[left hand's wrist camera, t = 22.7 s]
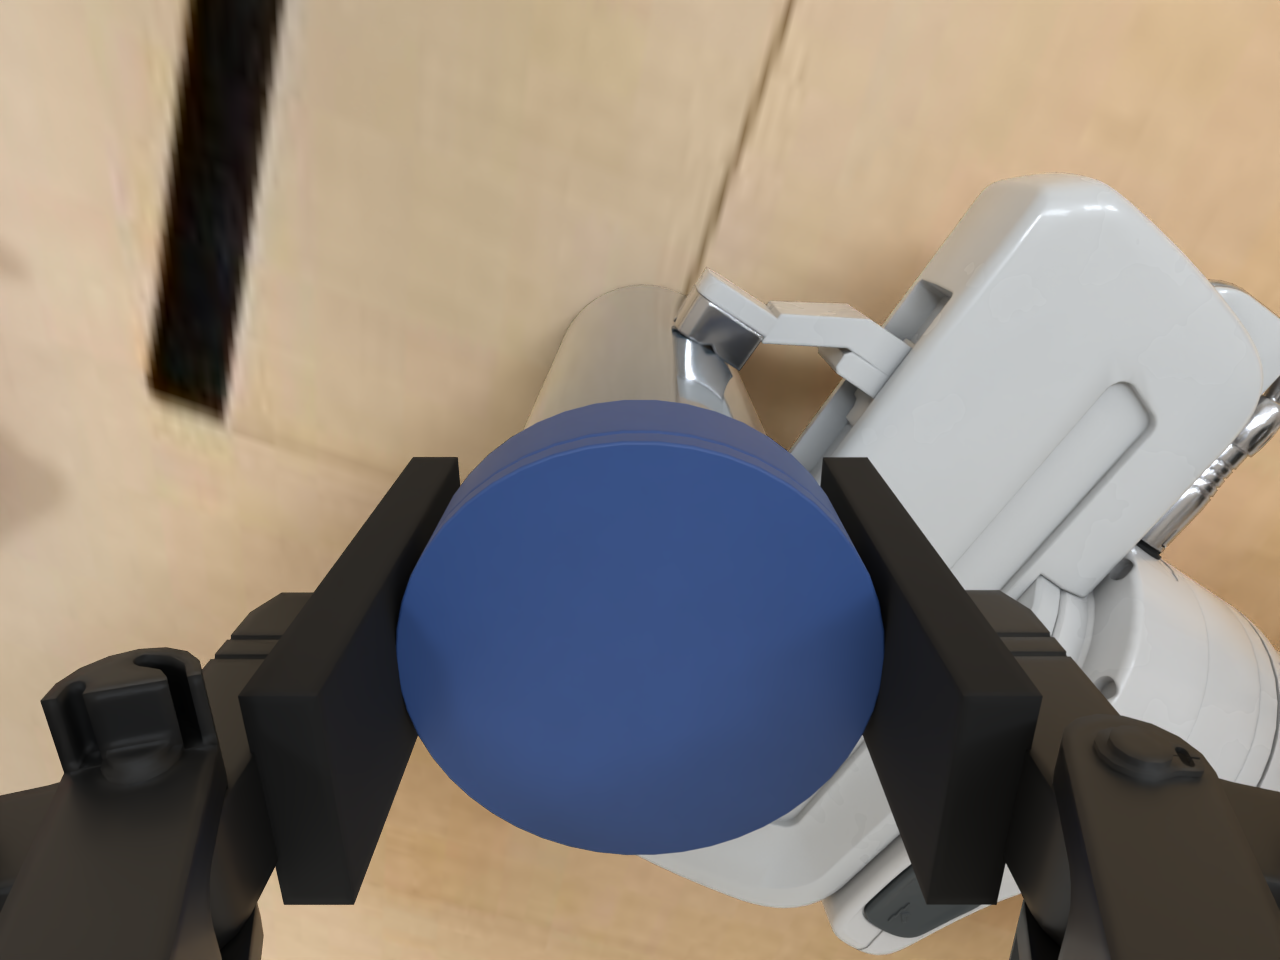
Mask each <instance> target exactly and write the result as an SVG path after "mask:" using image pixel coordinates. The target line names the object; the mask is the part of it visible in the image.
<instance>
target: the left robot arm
mask: <svg viewBox="0 0 1280 960" xmlns="http://www.w3.org/2000/svg"><path fill="white" fill-rule="evenodd" d="M459 487H460V478H459V467H458V457H413V458H412V459H411V461H410V462H409V464H408V465H407V466H406V468H405V469H404V470H403V472H402V473H401V474H400V476H399V477H398V479H397V480H396V481H395V483H394V484H393V485H392V487H391V488H390V489H389V491H388V492H387V494H386V495H385V496H384V498H383V499H382V500H381V502H380V503H379V504H378V506H377V507H376V508H375V510H374V511H373V513H372V514H371V515H370V517H369V518H368V519H367V521H366V522H365V523H364V525H363V526H362V528H361V529H360V530H359V532H358V533H357V534H356V536H355V537H354V538H353V540H352V541H351V543H350V544H349V545H348V547H347V548H346V549H345V551H344V552H343V553H342V555H341V556H340V558H339V559H338V560H337V562H336V563H335V564H334V566H333V567H332V568H331V570H330V571H329V573H328V574H327V575H326V577H325V578H324V579H323V581H322V582H321V583H320V585H319V586H318V587H317V589H316V590H315V592H314V593H280V594H279V595H277V596H276V597H274V598H272V599H271V600H269V601H268V602H266V603H264V604H263V605H261V606H260V607H258V608H256V609H255V610H253V611H252V612H250V613H249V614H248V616H247V617H246V618H245V619H244V620H243V622H242V623H241V624H240V625H239V626H238V627H237V629H236V630H235V631H234V632H233V633H232V635H231V640H227V641H226V642H225V643H224V644H223V645H222V647H221V648H220V649H219V650H218V651H217V652H216V654H215V659H211V660H210V661H209V662H208V663H207V664H206V666H205V667H204V668H203V669H201V664H200V660H198V659H197V658H196V657H194V656H193V655H192V654H190V653H189V652H188V651H183V650H178V649H172V648H167V647H164V648H148V649H137V650H133V651H129V652H125V653H121V654H116V655H112V656H108V657H106V658H104V659H101V660H99V661H96V662H94V663H92V664H89V665H87V666H84V667H82V668H80V669H78V670H76V671H75V672H73V673H72V674H70V675H69V676H67V677H66V678H64V679H62V680H61V681H59V682H58V683H56V684H55V685H54V686H53V687H52V689H51V690H50V691H49V692H48V693H47V694H46V695H45V696H44V698H43V699H42V700H41V704H42V707H43V710H44V713H45V716H46V719H47V722H48V725H49V728H50V731H51V734H52V737H53V740H54V743H55V746H56V750H57V753H58V756H59V759H60V762H61V765H62V768H63V771H64V775H63V777H62V779H61V781H60V782H59V783H55V784H52V785H48V786H43V787H39V788H34V789H29V790H24V791H20V792H15V793H10V794H6V795H1V796H0V960H261V954H262V945H263V936H264V935H263V928H262V922H261V916H260V912H259V908H258V904H257V901H258V899H259V897H260V895H261V893H262V892H263V890H264V888H265V886H266V884H267V882H268V880H269V878H270V876H271V874H272V872H273V870H274V868H275V866H276V871H277V875H278V880H279V884H280V889H281V893H282V898H283V903H284V905H354V903H355V900H356V898H357V895H358V892H359V890H360V887H361V885H362V882H363V879H364V877H365V874H366V871H367V869H368V866H369V863H370V861H371V858H372V855H373V853H374V850H375V848H376V845H377V842H378V840H379V837H380V834H381V832H382V829H383V826H384V824H385V821H386V818H387V816H388V813H389V810H390V808H391V805H392V803H393V800H394V797H395V795H396V792H397V789H398V787H399V784H400V781H401V779H402V776H403V773H404V771H405V768H406V766H407V763H408V760H409V758H410V755H411V752H412V750H413V747H414V744H415V742H416V739H417V736H418V734H417V732H416V729H415V727H414V725H413V723H412V721H411V718H410V716H409V714H408V712H407V709H406V706H405V702H404V699H403V695H402V692H401V685H400V678H399V670H398V663H397V654H396V628H397V622H398V617H399V612H400V606H401V601H402V598H403V595H404V593H405V590H406V587H407V584H408V581H409V578H410V576H411V573H412V572H413V570H414V568H415V566H416V564H417V562H418V560H419V559H420V557H421V555H422V553H423V551H424V549H425V547H426V545H427V544H428V542H429V540H430V538H431V536H432V534H433V532H434V531H435V529H436V527H437V525H438V523H439V521H440V519H441V518H442V516H443V514H444V512H445V510H446V508H447V506H448V505H449V503H450V501H451V499H452V497H453V495H454V494H455V493H456V491H457V490H458V489H459ZM820 487H821V488H822V489H823V491H824V492H825V494H826V495H827V496H828V498H829V500H830V502H831V504H832V506H833V508H834V509H835V511H836V513H837V515H838V517H839V519H840V521H841V522H842V524H843V526H844V528H845V530H846V532H847V534H848V535H849V537H850V539H851V541H852V543H853V545H854V547H855V548H856V550H857V552H858V554H859V556H860V558H861V560H862V562H863V563H864V565H865V567H866V569H867V571H868V573H869V575H870V577H871V580H872V583H873V586H874V589H875V592H876V594H877V597H878V600H879V604H880V609H881V615H882V620H883V626H884V659H883V667H882V675H881V682H880V689H879V693H878V697H877V700H876V704H875V707H874V710H873V713H872V715H871V717H870V719H869V721H868V724H867V726H866V728H865V730H864V732H863V738H864V740H865V743H866V746H867V748H868V751H869V754H870V756H871V759H872V762H873V764H874V767H875V769H876V772H877V775H878V777H879V780H880V783H881V785H882V788H883V791H884V793H885V796H886V799H887V801H888V804H889V806H890V809H891V812H892V814H893V817H894V820H895V822H896V825H897V828H898V830H899V833H900V836H901V838H902V841H903V844H904V846H905V849H906V851H907V854H908V857H909V859H910V862H911V865H912V867H913V870H914V873H915V875H916V878H917V881H918V883H919V886H920V888H921V891H922V894H923V896H924V899H925V902H926V904H927V905H997V900H998V896H999V891H1000V887H1001V882H1002V878H1003V873H1004V869H1005V864H1006V865H1007V867H1008V869H1009V870H1010V872H1011V874H1012V876H1013V878H1014V880H1015V882H1016V884H1017V886H1018V888H1019V890H1020V892H1021V894H1022V896H1023V898H1024V900H1023V904H1022V908H1021V912H1020V916H1019V921H1018V925H1017V929H1016V933H1015V937H1014V942H1013V946H1012V950H1011V954H1010V958H1009V960H1280V792H1278V791H1273V790H1268V789H1264V788H1259V787H1254V786H1249V785H1245V784H1240V783H1235V782H1231V781H1227V780H1224V779H1220V778H1218V775H1217V773H1216V772H1215V770H1214V769H1213V768H1212V766H1211V765H1210V764H1209V762H1208V761H1207V760H1206V758H1205V757H1204V756H1203V754H1202V753H1200V752H1199V751H1198V750H1196V749H1195V748H1194V747H1192V746H1191V745H1190V744H1188V743H1187V742H1186V741H1184V740H1183V739H1182V738H1180V737H1179V736H1177V735H1175V734H1173V733H1171V732H1168V731H1166V730H1164V729H1162V728H1160V727H1158V726H1156V725H1154V724H1152V723H1148V722H1144V721H1141V720H1137V719H1133V718H1130V717H1126V716H1121V715H1120V714H1119V713H1118V712H1117V711H1116V710H1115V708H1114V707H1113V706H1112V705H1111V704H1110V702H1109V701H1108V700H1107V699H1106V698H1105V697H1104V695H1103V694H1102V693H1101V692H1100V691H1099V689H1098V688H1097V687H1096V686H1095V685H1094V684H1093V682H1092V681H1091V680H1090V679H1089V678H1088V676H1087V675H1086V674H1085V673H1084V672H1083V671H1082V669H1081V668H1080V667H1079V666H1078V665H1077V663H1076V662H1075V661H1074V660H1073V659H1072V658H1071V656H1067V655H1066V650H1065V649H1064V648H1063V647H1062V646H1061V645H1060V643H1059V642H1058V641H1057V640H1056V639H1055V637H1051V636H1050V632H1049V630H1048V629H1047V628H1046V627H1045V626H1044V625H1043V623H1042V622H1041V621H1040V620H1039V619H1038V617H1037V616H1036V615H1035V614H1034V613H1033V612H1032V610H1031V609H1029V608H1027V607H1026V606H1024V605H1023V604H1021V603H1019V602H1018V601H1016V600H1015V599H1013V598H1011V597H1010V596H1008V595H1006V594H1005V593H1003V592H1002V591H1000V590H965V589H964V588H963V587H962V585H961V584H960V583H959V581H958V580H957V579H956V577H955V576H954V574H953V573H952V572H951V570H950V569H949V568H948V566H947V565H946V564H945V562H944V561H943V559H942V558H941V557H940V555H939V554H938V553H937V551H936V550H935V549H934V547H933V546H932V545H931V543H930V542H929V540H928V539H927V538H926V536H925V535H924V534H923V532H922V531H921V530H920V528H919V527H918V525H917V524H916V523H915V521H914V520H913V519H912V517H911V516H910V515H909V513H908V512H907V510H906V509H905V508H904V506H903V505H902V504H901V502H900V501H899V500H898V498H897V497H896V496H895V494H894V493H893V491H892V490H891V489H890V487H889V486H888V485H887V483H886V482H885V481H884V479H883V478H882V476H881V475H880V474H879V472H878V471H877V470H876V468H875V467H874V466H873V464H872V463H871V461H870V460H869V459H868V457H823V461H822V472H821V484H820Z"/></svg>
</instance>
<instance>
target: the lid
mask: <svg viewBox="0 0 1280 960" xmlns="http://www.w3.org/2000/svg"><path fill="white" fill-rule="evenodd" d="M396 654H397V663H398V670H399V678H400V685H401V692H402V695H403V699H404V702H405V706H406V709H407V712H408V714H409V716H410V718H411V721H412V723H413V725H414V727H415V729H416V732H417V734H418V736H419V737H420V739H421V740H422V742H423V743H424V745H425V747H426V748H427V750H428V751H429V753H430V754H431V756H432V758H433V759H434V760H435V761H436V762H437V764H438V765H439V766H440V767H441V768H442V770H443V771H444V772H445V773H446V774H447V775H448V777H449V778H450V779H451V780H452V781H453V782H454V783H455V784H457V785H458V786H459V787H460V788H461V789H462V790H463V791H464V792H465V793H466V794H467V795H468V796H470V797H471V798H472V799H474V800H475V801H476V802H478V803H479V804H480V805H482V806H483V807H485V808H486V809H487V810H489V811H490V812H491V813H493V814H495V815H497V816H498V817H500V818H502V819H504V820H505V821H507V822H509V823H511V824H512V825H514V826H516V827H518V828H520V829H523V830H525V831H527V832H530V833H532V834H534V835H537V836H539V837H541V838H544V839H547V840H551V841H554V842H557V843H560V844H563V845H567V846H570V847H575V848H580V849H585V850H590V851H595V852H602V853H612V854H622V855H658V854H668V853H678V852H686V851H691V850H696V849H701V848H706V847H711V846H714V845H717V844H720V843H724V842H727V841H730V840H733V839H736V838H739V837H741V836H744V835H746V834H748V833H751V832H753V831H755V830H758V829H760V828H762V827H765V826H766V825H768V824H770V823H772V822H773V821H775V820H777V819H779V818H780V817H782V816H784V815H786V814H788V813H789V812H790V811H792V810H793V809H795V808H796V807H797V806H799V805H800V804H801V803H803V802H804V801H806V800H807V799H808V798H810V797H811V796H812V795H813V794H814V793H815V792H816V791H817V790H818V789H820V788H821V787H822V786H823V785H824V784H825V783H826V782H827V781H828V780H829V779H830V778H831V777H832V776H833V775H834V774H835V772H836V771H837V770H838V769H839V768H840V766H841V765H842V764H843V763H844V762H845V761H846V759H847V758H848V757H849V755H850V754H851V752H852V750H853V749H854V747H855V746H856V744H857V743H858V741H859V739H860V738H861V736H862V735H863V732H864V730H865V728H866V726H867V724H868V721H869V719H870V717H871V715H872V713H873V710H874V707H875V704H876V700H877V697H878V693H879V689H880V682H881V675H882V667H883V659H884V626H883V620H882V615H881V609H880V604H879V600H878V597H877V594H876V592H875V589H874V586H873V583H872V580H871V577H870V575H869V573H868V571H867V569H866V567H865V565H864V563H863V562H862V560H861V558H860V556H859V554H858V552H857V550H856V548H855V547H854V545H853V543H852V541H851V539H850V537H849V535H848V534H847V532H846V530H845V528H844V526H843V524H842V522H841V521H840V519H839V517H838V515H837V513H836V511H835V509H834V508H833V506H832V504H831V502H830V500H829V498H828V496H827V495H826V494H825V492H824V491H823V489H822V488H821V487H820V485H819V484H818V483H817V481H816V480H815V479H814V477H813V476H812V475H811V473H810V472H809V471H808V470H807V469H806V468H805V467H804V466H803V465H802V464H801V463H800V462H799V461H798V460H797V459H796V458H795V457H794V456H793V455H792V454H790V453H789V452H788V451H787V450H785V449H784V448H783V447H781V446H780V445H779V444H777V443H776V442H775V441H773V440H772V439H771V438H769V437H768V436H766V435H764V434H763V433H761V432H759V431H757V430H756V429H754V428H752V427H750V426H748V425H747V424H745V423H743V422H741V421H738V420H736V419H733V418H731V417H728V416H726V415H723V414H721V413H718V412H716V411H712V410H708V409H704V408H701V407H697V406H693V405H689V404H684V403H676V402H668V401H661V400H620V401H612V402H604V403H596V404H591V405H588V406H584V407H580V408H576V409H572V410H568V411H565V412H562V413H560V414H557V415H555V416H552V417H550V418H547V419H545V420H542V421H540V422H537V423H535V424H534V425H532V426H530V427H528V428H527V429H525V430H523V431H521V432H520V433H518V434H516V435H514V436H512V437H511V438H510V439H508V440H507V441H506V442H504V443H503V444H502V445H500V446H499V447H498V448H497V449H495V450H494V451H493V452H491V453H490V454H489V455H488V456H487V457H486V458H485V459H484V460H483V461H482V462H481V463H480V464H479V465H478V466H477V467H476V468H475V469H474V470H473V471H472V472H471V473H470V474H469V475H468V477H467V478H466V479H465V481H464V482H463V483H462V485H461V486H460V487H459V489H458V490H457V491H456V493H455V494H454V495H453V497H452V499H451V501H450V503H449V505H448V506H447V508H446V510H445V512H444V514H443V516H442V518H441V519H440V521H439V523H438V525H437V527H436V529H435V531H434V532H433V534H432V536H431V538H430V540H429V542H428V544H427V545H426V547H425V549H424V551H423V553H422V555H421V557H420V559H419V560H418V562H417V564H416V566H415V568H414V570H413V572H412V573H411V576H410V578H409V581H408V584H407V587H406V590H405V593H404V595H403V598H402V601H401V606H400V612H399V617H398V622H397V628H396Z"/></svg>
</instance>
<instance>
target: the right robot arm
mask: <svg viewBox="0 0 1280 960" xmlns="http://www.w3.org/2000/svg"><path fill="white" fill-rule="evenodd" d="M673 321H674V322H675V324H674V326H675V328H676V329H677V330H678V331H679V332H681V333H682V334H683V335H684V336H686V337H687V338H688V339H690V340H692V341H694V342H696V343H698V344H700V345H712V348H713V350H714V353H715V354H716V355H717V356H718V357H719V358H720V359H722V360H723V361H724V362H726V363H727V364H729V365H731V366H732V367H734V368H735V369H737V370H739V371H740V369H741V368H742V367H743V365H744V364H745V363H746V361H747V360H748V358H749V357H750V356H751V354H752V353H753V352H754V350H755V349H756V347H757V346H758V345H759V343H760V342H762V343H764V344H782V345H799V346H816V347H818V353H819V355H820V356H821V357H822V358H823V359H824V360H825V361H826V362H827V363H828V364H829V365H830V366H831V368H832V369H833V370H834V371H835V372H836V373H837V374H838V375H840V376H841V377H843V378H842V380H841V381H840V382H839V384H838V385H837V386H836V388H835V389H834V390H833V392H832V393H831V395H830V396H829V397H828V399H827V400H826V401H825V403H824V404H823V405H822V407H821V408H820V409H819V411H818V412H817V413H816V415H815V416H814V417H813V419H812V420H811V421H810V423H809V424H808V425H807V427H806V428H805V430H804V431H803V432H802V434H801V435H800V436H799V438H798V439H797V440H796V442H795V443H794V444H793V446H792V447H791V448H790V450H789V451H788V452H789V453H790V454H792V455H793V456H794V457H795V458H796V459H797V460H798V461H799V462H800V463H801V464H802V465H803V466H804V467H805V468H806V469H807V470H808V471H809V472H810V473H811V475H812V476H813V477H814V479H815V480H816V481H817V483H818V484H819V485H820V484H821V472H822V461H823V457H868V459H869V460H870V461H871V463H872V464H873V466H874V467H875V468H876V470H877V471H878V472H879V474H880V475H881V476H882V478H883V479H884V481H885V482H886V483H887V485H888V486H889V487H890V489H891V490H892V491H893V493H894V494H895V496H896V497H897V498H898V500H899V501H900V502H901V504H902V505H903V506H904V508H905V509H906V510H907V512H908V513H909V515H910V516H911V517H912V519H913V520H914V521H915V523H916V524H917V525H918V527H919V528H920V530H921V531H922V532H923V534H924V535H925V536H926V538H927V539H928V540H929V542H930V543H931V545H932V546H933V547H934V549H935V550H936V551H937V553H938V554H939V555H940V557H941V558H942V559H943V561H944V562H945V564H946V565H947V566H948V568H949V569H950V570H951V572H952V573H953V574H954V576H955V577H956V579H957V580H958V581H959V583H960V584H961V585H962V587H963V588H964V589H965V590H1000V591H1002V592H1003V593H1005V594H1006V595H1008V596H1010V597H1011V598H1013V599H1015V600H1016V601H1018V602H1019V603H1021V604H1023V605H1024V606H1026V607H1027V608H1029V609H1031V610H1032V612H1033V613H1034V614H1035V615H1036V616H1037V617H1038V619H1039V620H1040V621H1041V622H1042V623H1043V625H1044V626H1045V627H1046V628H1047V629H1048V630H1049V632H1050V636H1051V637H1055V639H1056V640H1057V641H1058V642H1059V643H1060V645H1061V646H1062V647H1063V648H1064V649H1065V650H1066V655H1067V656H1071V658H1072V659H1073V660H1074V661H1075V662H1076V663H1077V665H1078V666H1079V667H1080V668H1081V669H1082V671H1083V672H1084V673H1085V674H1086V675H1087V676H1088V678H1089V679H1090V680H1091V681H1092V682H1093V684H1094V685H1095V686H1096V687H1097V688H1098V689H1099V691H1100V692H1101V693H1102V694H1103V695H1104V697H1105V698H1106V699H1107V700H1108V701H1109V702H1110V704H1111V705H1112V706H1113V707H1114V708H1115V710H1116V711H1117V712H1118V713H1119V714H1120V715H1121V716H1126V717H1130V718H1133V719H1137V720H1141V721H1144V722H1148V723H1152V724H1154V725H1156V726H1158V727H1160V728H1162V729H1164V730H1166V731H1168V732H1171V733H1173V734H1175V735H1177V736H1179V737H1180V738H1182V739H1183V740H1184V741H1186V742H1187V743H1188V744H1190V745H1191V746H1192V747H1194V748H1195V749H1196V750H1198V751H1199V752H1200V753H1202V754H1203V756H1204V757H1205V758H1206V760H1207V761H1208V762H1209V764H1210V765H1211V766H1212V768H1213V769H1214V770H1215V772H1216V773H1217V775H1218V778H1220V779H1224V780H1227V781H1231V782H1235V783H1240V784H1245V785H1249V786H1254V787H1259V788H1264V789H1268V790H1273V791H1278V792H1280V651H1276V650H1275V648H1274V647H1273V646H1272V644H1271V643H1270V641H1269V640H1268V639H1267V638H1266V636H1265V635H1264V634H1263V633H1262V632H1261V631H1260V630H1259V629H1258V628H1257V627H1256V626H1255V625H1254V623H1253V622H1251V621H1250V620H1249V619H1248V618H1247V617H1246V616H1244V615H1243V614H1242V613H1241V612H1239V611H1238V610H1237V609H1236V608H1234V607H1233V606H1232V605H1230V604H1229V603H1227V602H1225V601H1224V600H1222V599H1221V598H1219V597H1218V596H1216V595H1215V594H1213V593H1212V592H1210V591H1209V590H1207V589H1206V588H1204V587H1203V586H1201V585H1200V584H1198V583H1197V582H1195V581H1194V580H1192V579H1191V578H1189V577H1188V576H1186V575H1185V574H1183V573H1182V572H1180V571H1179V570H1177V569H1176V568H1174V567H1173V566H1171V565H1170V564H1168V563H1167V562H1165V561H1164V560H1163V559H1161V558H1162V557H1161V556H1159V554H1160V553H1162V552H1163V551H1164V549H1165V548H1166V547H1167V546H1168V545H1169V544H1170V543H1171V542H1172V541H1173V540H1174V539H1175V538H1176V537H1177V536H1178V535H1179V534H1180V533H1181V532H1182V531H1183V530H1184V529H1185V528H1186V527H1187V526H1188V525H1189V524H1190V523H1191V521H1192V520H1193V519H1194V518H1195V517H1196V516H1197V515H1198V514H1199V513H1200V512H1201V511H1202V510H1203V509H1204V507H1205V506H1206V505H1207V504H1208V503H1209V502H1210V500H1211V499H1210V497H1213V496H1214V495H1215V493H1216V492H1217V491H1218V490H1217V488H1220V487H1221V485H1222V484H1223V483H1224V482H1225V481H1224V479H1225V478H1226V479H1227V478H1228V477H1229V476H1230V475H1231V474H1232V473H1233V472H1232V470H1236V469H1237V468H1238V467H1239V465H1240V464H1241V463H1242V462H1243V461H1244V460H1245V459H1246V458H1247V457H1252V456H1254V455H1255V454H1256V453H1257V452H1258V451H1260V450H1261V449H1262V448H1263V447H1264V446H1265V445H1266V444H1267V443H1268V442H1269V441H1270V440H1271V438H1272V437H1273V436H1274V435H1275V434H1276V432H1277V431H1278V429H1279V428H1280V317H1279V316H1278V315H1276V314H1275V313H1274V312H1272V311H1271V310H1270V309H1269V308H1267V307H1266V306H1265V305H1263V304H1262V303H1261V302H1259V301H1258V300H1257V299H1256V298H1254V297H1253V296H1252V295H1250V294H1249V293H1248V292H1247V291H1245V290H1244V289H1243V288H1241V287H1239V286H1237V285H1235V284H1233V283H1229V282H1225V281H1221V280H1210V279H1207V278H1206V277H1205V276H1204V275H1203V274H1202V273H1201V272H1200V270H1199V269H1198V268H1197V267H1196V266H1195V265H1194V264H1193V263H1192V262H1191V260H1190V259H1189V258H1188V257H1187V256H1186V255H1185V254H1184V253H1183V252H1182V251H1181V250H1180V249H1179V248H1178V247H1177V246H1176V245H1175V244H1174V243H1173V242H1172V241H1171V240H1170V239H1169V238H1168V237H1167V236H1166V235H1165V234H1164V233H1163V232H1162V231H1161V230H1160V229H1159V228H1158V227H1157V226H1156V225H1155V224H1154V223H1153V222H1152V221H1151V220H1150V219H1149V218H1148V217H1146V216H1145V215H1144V214H1143V213H1142V212H1141V211H1140V210H1139V209H1138V208H1136V207H1135V206H1134V205H1133V204H1132V203H1131V202H1130V201H1129V200H1127V199H1126V198H1125V197H1124V196H1122V195H1121V194H1120V193H1119V192H1117V191H1116V190H1115V189H1113V188H1112V187H1110V186H1109V185H1107V184H1106V183H1104V182H1102V181H1099V180H1097V179H1093V178H1090V177H1086V176H1082V175H1077V174H1070V173H1040V174H1032V175H1025V176H1019V177H1014V178H1009V179H1004V180H999V181H996V182H994V183H992V184H990V185H988V186H987V187H986V188H985V189H984V190H983V191H982V192H981V193H980V194H979V196H978V197H977V198H976V199H975V201H974V202H973V203H972V205H971V206H970V207H969V209H968V210H967V211H966V213H965V214H964V216H963V217H962V218H961V220H960V221H959V222H958V224H957V225H956V226H955V228H954V229H953V230H952V232H951V233H950V234H949V236H948V237H947V239H946V240H945V241H944V243H943V244H942V245H941V247H940V248H939V249H938V251H937V252H936V253H935V255H934V256H933V257H932V259H931V260H930V261H929V263H928V264H927V265H926V267H925V268H924V269H923V271H922V272H921V273H920V275H919V276H918V277H917V279H916V280H915V282H914V283H913V284H912V286H911V287H910V288H909V290H908V291H907V292H906V294H905V295H904V296H903V298H902V299H901V300H900V302H899V303H898V304H897V306H896V307H895V308H894V310H893V311H892V312H891V314H890V315H889V316H888V318H887V319H886V321H885V322H884V323H883V325H882V326H880V325H879V324H877V323H876V322H874V321H873V320H871V319H870V318H868V317H867V316H865V315H864V314H862V313H861V312H859V311H858V310H856V309H855V308H853V307H852V306H850V305H849V304H847V303H819V302H789V301H769V302H768V303H767V305H765V304H764V303H762V302H761V301H759V300H758V299H756V298H755V297H753V296H752V295H750V294H749V293H747V292H746V291H744V290H743V289H741V288H740V287H738V286H737V285H735V284H734V283H732V282H731V281H729V280H728V279H726V278H725V277H723V276H722V275H720V274H719V273H717V272H715V271H713V270H711V269H709V268H707V267H706V268H705V270H704V271H703V273H702V274H701V276H700V277H699V279H698V281H697V282H696V284H695V285H694V286H693V288H692V290H691V291H690V293H689V294H688V296H687V298H686V299H685V301H684V302H683V304H682V306H681V307H680V309H679V311H678V312H677V314H676V315H675V317H674V319H673ZM1264 392H1265V393H1264ZM1263 393H1264V394H1263ZM637 856H639V857H641V858H643V859H645V860H647V861H649V862H651V863H653V864H655V865H657V866H659V867H662V868H664V869H666V870H668V871H670V872H672V873H675V874H677V875H679V876H681V877H684V878H686V879H688V880H691V881H693V882H695V883H698V884H700V885H702V886H705V887H708V888H710V889H713V890H715V891H718V892H720V893H723V894H725V895H728V896H730V897H733V898H736V899H739V900H742V901H745V902H749V903H752V904H756V905H761V906H766V907H773V908H796V907H801V906H807V905H810V904H813V903H816V902H819V901H822V904H823V907H824V909H825V912H826V915H827V917H828V920H829V923H830V925H831V928H832V930H833V932H834V934H835V935H836V936H837V937H838V938H839V939H840V940H841V941H843V942H845V943H846V944H848V945H849V946H851V947H853V948H855V949H857V950H859V951H862V952H865V953H868V954H872V955H887V954H891V953H894V952H897V951H900V950H902V949H904V948H906V947H908V946H910V945H912V944H914V943H916V942H918V941H919V940H921V939H923V938H925V937H927V936H929V935H930V934H932V933H934V932H936V931H938V930H940V929H942V928H944V927H946V926H948V925H950V924H952V923H954V922H956V921H958V920H960V919H962V918H964V917H966V916H968V915H970V914H972V913H974V912H976V911H979V910H981V909H983V908H986V907H988V906H990V905H927V904H926V902H925V899H924V896H923V894H922V891H921V888H920V886H919V883H918V881H917V878H916V875H915V873H914V870H913V867H912V865H911V862H910V859H909V857H908V854H907V851H906V849H905V846H904V844H903V841H902V838H901V836H900V833H899V830H898V828H897V825H896V822H895V820H894V817H893V814H892V812H891V809H890V806H889V804H888V801H887V799H886V796H885V793H884V791H883V788H882V785H881V783H880V780H879V777H878V775H877V772H876V769H875V767H874V764H873V762H872V759H871V756H870V754H869V751H868V748H867V746H866V743H865V740H864V738H863V735H862V736H861V738H860V739H859V741H858V743H857V744H856V746H855V747H854V749H853V750H852V752H851V754H850V755H849V757H848V758H847V759H846V761H845V762H844V763H843V764H842V765H841V766H840V768H839V769H838V770H837V771H836V772H835V774H834V775H833V776H832V777H831V778H830V779H829V780H828V781H827V782H826V783H825V784H824V785H823V786H822V787H821V788H820V789H818V790H817V791H816V792H815V793H814V794H813V795H812V796H811V797H810V798H808V799H807V800H806V801H804V802H803V803H801V804H800V805H799V806H797V807H796V808H795V809H793V810H792V811H790V812H789V813H788V814H786V815H784V816H782V817H780V818H779V819H777V820H775V821H773V822H772V823H770V824H768V825H766V826H765V827H762V828H760V829H758V830H755V831H753V832H751V833H748V834H746V835H744V836H741V837H739V838H736V839H733V840H730V841H727V842H724V843H720V844H717V845H714V846H711V847H706V848H701V849H696V850H691V851H686V852H678V853H668V854H658V855H637ZM1019 894H1021V892H1020V890H1019V888H1018V886H1017V884H1016V882H1015V880H1014V878H1013V876H1012V874H1011V872H1010V870H1009V869H1008V867H1007V865H1006V864H1005V869H1004V873H1003V878H1002V882H1001V887H1000V891H999V896H998V900H997V902H1000V901H1002V900H1005V899H1008V898H1010V897H1013V896H1016V895H1019Z"/></svg>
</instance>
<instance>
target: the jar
mask: <svg viewBox="0 0 1280 960" xmlns="http://www.w3.org/2000/svg"><path fill="white" fill-rule="evenodd" d="M686 298H687V296H685V295H683V294H681V293H679V292H677V291H674V290H671V289H668V288H665V287H659V286H654V285H634V286H627V287H623V288H618V289H616V290H613V291H610V292H608V293H606V294H604V295H602V296H600V297H598V298H596V299H595V300H594V301H592V302H591V303H590V304H588V305H587V306H586V307H585V308H584V309H583V310H582V311H581V312H580V313H579V314H578V315H577V316H576V318H575V319H574V320H573V321H572V323H571V325H570V326H569V328H568V330H567V331H566V334H565V336H564V338H563V340H562V343H561V345H560V347H559V349H558V352H557V354H556V356H555V359H554V361H553V363H552V365H551V368H550V370H549V372H548V374H547V377H546V379H545V381H544V384H543V386H542V388H541V390H540V393H539V395H538V397H537V399H536V402H535V404H534V406H533V409H532V411H531V413H530V415H529V418H528V420H527V422H526V424H525V427H524V429H523V430H525V429H527V428H528V427H530V426H532V425H534V424H535V423H537V422H540V421H542V420H545V419H547V418H550V417H552V416H555V415H557V414H560V413H562V412H565V411H568V410H572V409H576V408H580V407H584V406H588V405H591V404H596V403H604V402H612V401H620V400H661V401H668V402H676V403H684V404H689V405H693V406H697V407H701V408H704V409H708V410H712V411H716V412H718V413H721V414H723V415H726V416H728V417H731V418H733V419H736V420H738V421H741V422H743V423H745V424H747V425H748V426H750V427H752V428H754V429H756V430H757V431H759V432H761V433H763V434H764V435H766V436H767V434H766V432H765V430H764V428H763V426H762V423H761V421H760V419H759V417H758V414H757V412H756V410H755V408H754V406H753V403H752V401H751V399H750V397H749V394H748V392H747V390H746V388H745V386H744V383H743V381H742V379H741V377H740V374H739V372H738V370H737V369H735V368H734V367H732V366H731V365H729V364H727V363H726V362H724V361H723V360H722V359H720V358H719V357H718V356H717V355H716V354H715V353H714V350H713V348H712V345H700V344H698V343H696V342H694V341H692V340H690V339H688V338H687V337H686V336H684V335H683V334H682V333H681V332H679V331H678V330H677V329H676V328H675V326H674V324H675V322H674V321H673V319H674V317H675V315H676V314H677V312H678V311H679V309H680V307H681V306H682V304H683V302H684V301H685V299H686Z"/></svg>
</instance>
